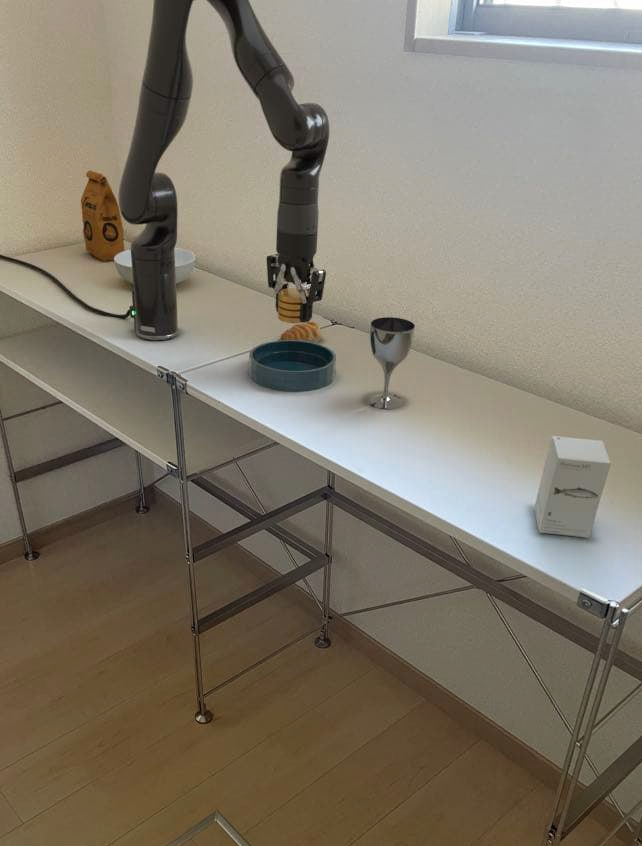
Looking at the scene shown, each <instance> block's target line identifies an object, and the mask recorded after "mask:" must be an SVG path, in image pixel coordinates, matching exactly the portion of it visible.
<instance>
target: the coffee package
mask: <svg viewBox="0 0 642 846" xmlns="http://www.w3.org/2000/svg"><path fill="white" fill-rule="evenodd" d="M85 176H86V178H88V180H87V183H86V185H85V187H84V190H83V192H82V196H81V198H80V206H81V207H80V208H81V216H82V217H81V219H82V224H83V225H82V227H83V228H82V234H83V238H84V243H85V251H87V252H88V253H89V254H92V255H93V256H94V257H95V258H97V259H98V260H101V261H102V262H107V261H110V262H111V261H114V257H115V256H116V255H117V254H119V253H121V252H123V251H125V235H124V226H123V222H122V214H121V212H120V208H119V203H118V200H117V198H116V196H115V194H114V192H113V189H112V187H111V185H110V184H109V181H108V179H107V176H105V175H103V174H102V173H100V172H97V171H93V170H88V171H87V172H86V174H85Z"/></svg>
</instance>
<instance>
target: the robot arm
mask: <svg viewBox="0 0 642 846" xmlns="http://www.w3.org/2000/svg"><path fill="white" fill-rule="evenodd" d="M194 1H195V0H153V6H152V7H153V8H152V16H151V27H150V31H149V39H148V46H147V52H146V58H145V64H144V68H143V69H144V70H143V75H142V77H141V78H142V79H141V84H140V91H139V97H138V103H137V109H136V110H137V111H136V117H135V121H134V127H133V132H132V136H131V141H130V146H129V150H128V153H127V158H126V161H125V165H124V168H123V171H122V175H121V178H120V182H119V186H118V196H117V197H118V199H117V202H118V206H119V211H120V215H121V217H122V218H123V219H124V220H125V221H126V223H128V224H130V225H133V226H135V225H136V226H139V225H145V227H144V228H143V230H142V231H141V232H140V233H139V234H138V235H137V236H136V237H134V238H133V239H132V240H131V242H130V249H131V261H132V274H133V284H132V285H133V286H132V287H133V288H132V289H131V300H132V305H129V306H128V307H129V309H128V310H127V311H126V313H125V314H115V313H111V312H108V311H104V310H101V309H99V308H95V307H93V306H91V305H90V304H87V303H86V302H85V301H83V300H82V299H80V298H79V297H77V295H76V294H75V293H73V292H72V291H70V290H69V289H68V288H67V287H66V286H65V285H64V284H63V283H62V282H61V281H59V280H58V278H56V277H55V276H54V275H52V274H51V273H50V272H48V271H47V270H45V269H43V268H41V267H39V266H37V265H34V264H32V263H29V262H27V261H24V260H21V259H17V258H14V257H10V256H7V255H3V254H0V259H2V260H6V261H10V262H13V263H17V264H20V265H22V266H26V267H28V268H31V269H34V270H35V271H38V272H40V273H42V274H43V275H45V276H47V277H48V278H49V279H51V280H52V281H53V282H55V283H56V284H57V285H58V286H59V287H60V288H61V289H62V290H63V291H64V292H65V293H66V294H67V295H68V296H70V298H72V299H73V300H74V301H75V302H77V303H78V304H79V305H81V306H82V307H84V308H86V309H87V310H88V311H91V312H94V313H96V314H99V315H103V316H106V317H110V318H115V319H128V318H129V317H130V318H131V319H133V324H134V331H135V334H136V336H137V337H138V338H141V339H143V340H147V341H166V340H171V339H173V338H175V337H176V336H178V335H179V324H178V322H179V321H178V296H177V284H176V272H175V248H176V245H177V243H178V242H177V241H178V211H179V209H178V196H177V190H176V187H175V184H174V182H173V180H172V179H171V178H170V176H168V174H166V173H164V172H161V171H159V172H158V171H157V172H156V170H157V168H158V165H159V162H160V161H161V159H162V157H163V156H164V154H165V152H166V151H167V150H168V148H169V147H170V145H171V144H172V143H173V142H174V140H175V139H176V137H177V136H178V135H179V133H180V131H181V130H182V128H183V126H184V124H185V122H186V119H187V116H188V113H189V108H190V104H191V103H190V102H191V99H192V94H193V88H194V75H193V70H192V65H191V64H192V63H191V60H190V56H189V53H188V47H187V29H188V24H189V18H190V14H191V10H192V6H193V3H194ZM206 1H207V3H208V4H209V5H210V6H211V7H212V8H213V9H214V11H215V12H216V13H217V14H218V15H219V17H220V19H221V20H222V22H223V24H224V26H225V29H226V31H227V34H228V38H229V43H230V48H231V53H232V57H233V59H234V63H235V66H236V67H237V69H238V72H239V73H240V75H241V76H242V79H243V80H244V81H245V83H246V85H247V86H248V87H249V89H250V91H251V92H252V93H253V95H254V96H255V98H256V99H257V100H258V101H259V105H260V107H261V111H262V114H263V116H264V119H265V120H266V121H265V122H266V125H267V126H268V128H269V131H270V133H271V135H272V137H273V138H274V140H275V141H276V143H277V144H278V145H279V146H280V147H281V148H283V149H284V150H286V151H288V152H291V155H290V159H289V161H288V162H287V163H286V164H285V165H284V166H283V167H282V169H281V170H280V174H279V192H278V193H279V195H278V206H277V213H276V214H277V215H276V238H275V239H276V241H275V243H276V245H275V251H276V253H274V254H271V255H267V256H266V272H267V286H268V288H269V289H273V291H274V293H275V309H276V310H275V311H276V313H278V299H279V291H281V290H283V289H288V288H289V287H290V284H293V285H295V288H296V289H297V291H298V292H299V293H300V297H301V300H302V303H301V311H300V321H301V322H302V323H307V322H311V319H312V318H313V308H314V303H316V302H321V301H322V300H323V296H324V295H323V294H324V288H325V282H326V277H327V271H326V270H325V268H324V269H318V267H317V268H316V267H315V263H314V258H315V255H316V254H317V252H318V251H317V250H318V234H319V233H318V232H319V215H320V214H319V212H320V211H319V191H320V174H321V172H322V169H323V166H324V161H325V157H326V153H327V149H328V145H329V140H330V130H331V129H330V121H329V117H328V114H327V112H326V110H325V109H324V107H323V106H322V105H320V104H318V103H315V102H305V103H298V102H297V101H296V98H295V97H294V95H293V91H294V88H295V77H294V76H293V73H292V72H291V70H290V68H289V66H288V65H287V64H286V62H285V61H284V59H283V57H282V56H281V55H280V53H279V52H278V50H277V48H276V47H275V46H274V44H273V43H272V41H271V40H270V38H269V36H268V35H267V33H266V31H265V30H264V28H263V27H262V25H261V23H260V20H259V19H258V17H257V14H256V12H255V11H254V9H253V6H252V5H251V2H250V0H206ZM303 284H306V285H303ZM305 290H306V291H307V293H308V296H307V295H306V291H305Z"/></svg>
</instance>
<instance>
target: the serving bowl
mask: <svg viewBox="0 0 642 846" xmlns="http://www.w3.org/2000/svg"><path fill="white" fill-rule="evenodd" d="M113 262H114V266H115V270H116V271H117V273H118V274H119V276H120V277H121V278H122V279H123V280H124V281H126V282H128V283H130V284H132V285H133V274H132V261H131V248H130V249H127V250H124V251H123V252H121V253H119V254H117V255H116V256H115V257H114V260H113ZM195 265H196V255H195V253H193V252H192V251H191V250H189V249H184V248H180V247H175V272H176V285H177V284H180V283H182V282H184V281H185V280H187V279H188V278H189V277H190V276H191V275H192V273H193V271H194V269H195Z"/></svg>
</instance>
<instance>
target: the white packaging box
mask: <svg viewBox="0 0 642 846" xmlns="http://www.w3.org/2000/svg"><path fill="white" fill-rule="evenodd" d="M548 444H549V445H548V447H547V448H548V449H547V454H546V457H545V460H544V464H543V469H542V475H541V477H540V482H539V487H538V491H537V495H536V499H535V503H534V507H533V509H534V515H535V519H536V524H537V530H538V533H539V534H550V535H562V536H569V537H578V538H584V539H589V538H590V536H591V534H592V531H593V526H594V523H595V519H596V516H597V512H598V509H599V505H600V502H601V498H602V495H603V491H604V488H605V484H606V481H607V478H608V474H609V471H610V468H611V464H612V462H611V460H610V457H609V454H608V451H607V448H606V445H605V443H604V440H599V439H587V438H578V437H566V436H558V435H551V436H550V440H549V443H548Z"/></svg>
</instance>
